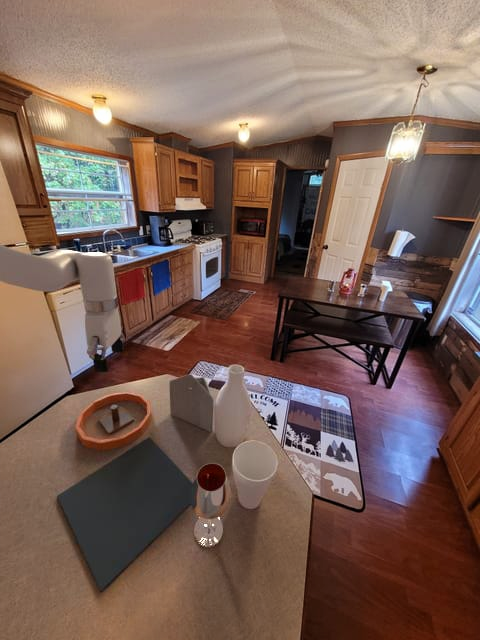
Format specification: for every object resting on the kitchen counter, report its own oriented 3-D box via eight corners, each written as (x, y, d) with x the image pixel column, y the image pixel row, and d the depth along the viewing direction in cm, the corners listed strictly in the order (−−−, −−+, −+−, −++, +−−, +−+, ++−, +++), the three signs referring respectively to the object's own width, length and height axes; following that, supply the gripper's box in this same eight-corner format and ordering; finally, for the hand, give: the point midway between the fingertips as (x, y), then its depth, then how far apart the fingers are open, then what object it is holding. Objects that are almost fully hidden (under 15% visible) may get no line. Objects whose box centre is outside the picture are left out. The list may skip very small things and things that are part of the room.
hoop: (67, 420, 80) (65, 413, 79) (131, 390, 95) (130, 384, 94) (95, 463, 68) (93, 456, 67) (163, 421, 83) (162, 414, 82)
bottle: (229, 417, 87) (234, 353, 77) (255, 435, 81) (264, 369, 70) (205, 436, 79) (207, 368, 69) (231, 458, 73) (238, 387, 62)
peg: (98, 421, 81) (95, 406, 79) (122, 408, 87) (120, 394, 84) (109, 435, 76) (106, 420, 74) (134, 421, 82) (132, 407, 80)
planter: (223, 416, 87) (226, 369, 79) (211, 432, 80) (213, 383, 73) (184, 400, 93) (183, 355, 85) (170, 414, 86) (167, 366, 78)
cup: (253, 530, 57) (259, 492, 51) (220, 497, 63) (222, 459, 57) (278, 495, 64) (286, 458, 59) (246, 468, 70) (251, 432, 65)
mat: (57, 497, 60) (56, 495, 60) (149, 437, 77) (149, 436, 77) (101, 592, 46) (100, 591, 46) (201, 494, 63) (201, 493, 63)
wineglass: (231, 516, 59) (237, 463, 52) (220, 559, 52) (225, 504, 44) (198, 505, 60) (199, 453, 53) (183, 545, 53) (182, 490, 46)
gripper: (102, 292, 72) (110, 344, 78) (65, 315, 56) (79, 379, 63) (129, 293, 72) (135, 346, 79) (99, 318, 56) (110, 380, 63)
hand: (110, 360), depth 71 cm, fingers open, 9 cm apart
